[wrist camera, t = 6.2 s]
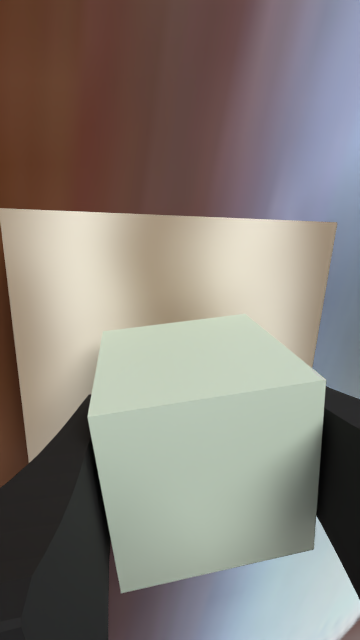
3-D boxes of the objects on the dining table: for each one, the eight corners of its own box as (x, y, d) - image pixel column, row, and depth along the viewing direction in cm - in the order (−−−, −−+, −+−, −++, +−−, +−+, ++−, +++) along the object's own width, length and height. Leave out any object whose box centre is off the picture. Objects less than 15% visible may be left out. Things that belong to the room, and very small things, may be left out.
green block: (244, 313, 12) (325, 379, 7) (246, 431, 13) (313, 549, 9) (102, 331, 11) (87, 416, 6) (122, 452, 13) (121, 592, 8)
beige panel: (288, 221, 16) (337, 222, 13) (260, 427, 20) (292, 477, 16) (31, 210, 14) (-2, 208, 11) (52, 442, 18) (33, 503, 14)
